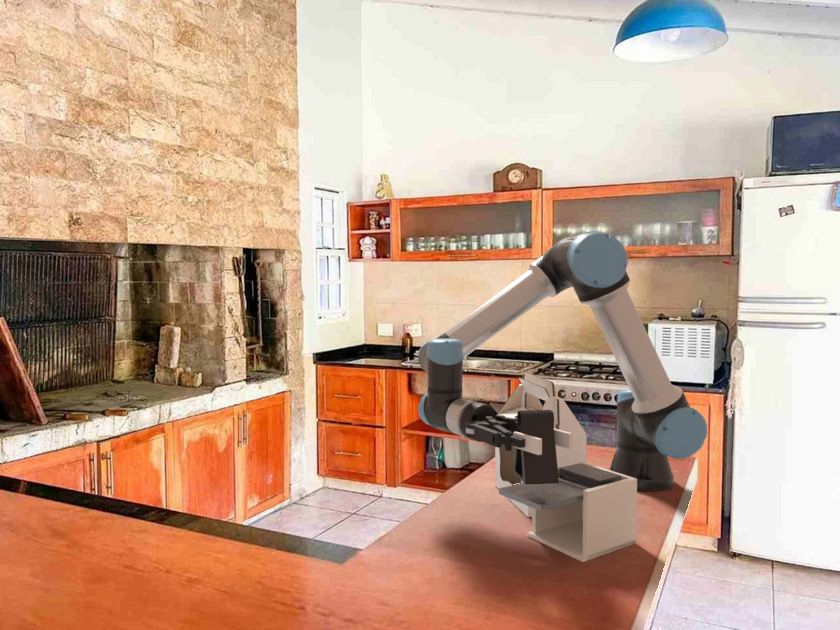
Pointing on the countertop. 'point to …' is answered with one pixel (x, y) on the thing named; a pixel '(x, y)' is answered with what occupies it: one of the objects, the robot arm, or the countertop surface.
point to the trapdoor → (560, 487)
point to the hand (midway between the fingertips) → (555, 443)
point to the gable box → (563, 420)
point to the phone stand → (544, 465)
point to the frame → (590, 520)
